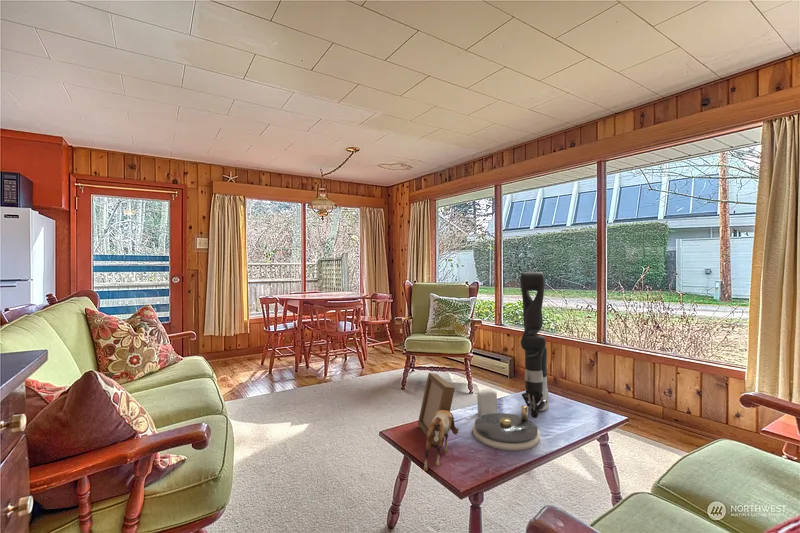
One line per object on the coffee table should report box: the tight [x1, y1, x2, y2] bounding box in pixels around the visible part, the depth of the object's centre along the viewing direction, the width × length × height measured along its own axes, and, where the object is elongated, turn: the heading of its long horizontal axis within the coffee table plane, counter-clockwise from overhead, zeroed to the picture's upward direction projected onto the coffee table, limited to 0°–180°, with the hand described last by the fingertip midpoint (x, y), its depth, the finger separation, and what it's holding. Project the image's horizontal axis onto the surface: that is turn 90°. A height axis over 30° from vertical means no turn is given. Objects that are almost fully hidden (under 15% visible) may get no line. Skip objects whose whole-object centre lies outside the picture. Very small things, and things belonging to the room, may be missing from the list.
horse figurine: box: [423, 410, 460, 472], centre depth 146 cm, size 31×8×21 cm, turn 156°
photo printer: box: [476, 388, 498, 416], centre depth 189 cm, size 10×4×12 cm, turn 104°
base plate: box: [472, 422, 541, 451], centre depth 165 cm, size 29×29×2 cm
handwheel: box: [474, 404, 539, 443], centre depth 165 cm, size 27×27×8 cm
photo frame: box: [417, 372, 455, 447], centre depth 167 cm, size 15×22×25 cm
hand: (534, 417), depth 166 cm, fingers closed
